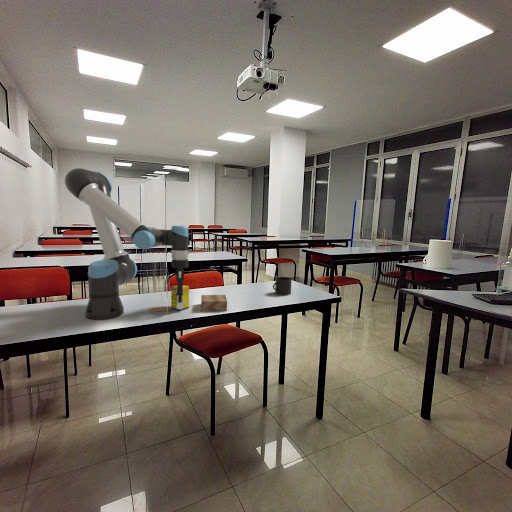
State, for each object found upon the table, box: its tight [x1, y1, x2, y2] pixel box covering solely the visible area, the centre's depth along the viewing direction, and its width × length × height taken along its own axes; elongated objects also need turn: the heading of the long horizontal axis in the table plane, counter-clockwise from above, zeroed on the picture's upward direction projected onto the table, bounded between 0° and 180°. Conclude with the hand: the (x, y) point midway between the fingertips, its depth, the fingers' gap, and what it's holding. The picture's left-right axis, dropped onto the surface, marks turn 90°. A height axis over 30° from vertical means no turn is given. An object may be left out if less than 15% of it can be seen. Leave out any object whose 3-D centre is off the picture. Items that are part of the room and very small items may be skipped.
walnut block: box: [200, 294, 228, 312], centre depth 147 cm, size 12×12×5 cm
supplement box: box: [170, 284, 190, 312], centre depth 143 cm, size 6×6×11 cm
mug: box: [272, 276, 292, 296], centre depth 177 cm, size 9×12×9 cm
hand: (180, 305), depth 143 cm, fingers closed on supplement box, 8 cm apart
